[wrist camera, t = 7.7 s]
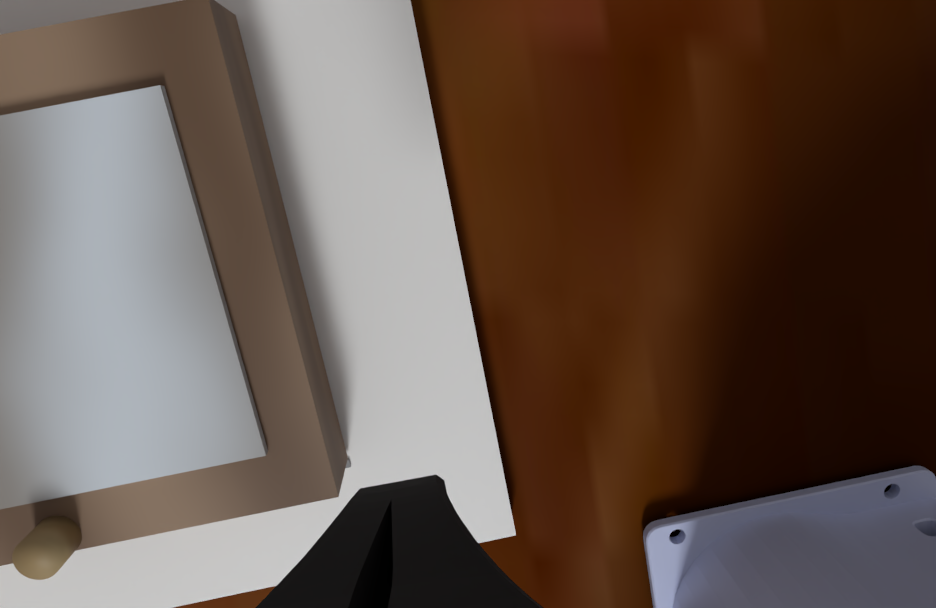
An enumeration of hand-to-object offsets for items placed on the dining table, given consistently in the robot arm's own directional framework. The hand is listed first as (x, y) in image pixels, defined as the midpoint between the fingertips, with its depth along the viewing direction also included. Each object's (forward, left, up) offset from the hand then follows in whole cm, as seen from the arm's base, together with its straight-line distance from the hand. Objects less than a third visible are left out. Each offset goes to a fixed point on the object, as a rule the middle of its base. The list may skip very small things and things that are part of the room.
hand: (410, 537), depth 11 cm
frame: (+9, -4, -8) cm, 13 cm away
